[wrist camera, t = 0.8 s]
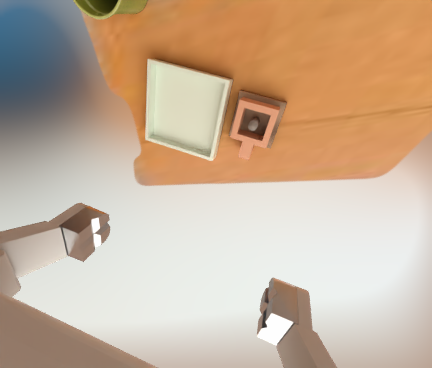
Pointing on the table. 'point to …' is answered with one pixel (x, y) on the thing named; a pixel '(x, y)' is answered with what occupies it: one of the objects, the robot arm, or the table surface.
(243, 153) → the orange frame with handle
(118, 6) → the plant pot
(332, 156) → the table surface
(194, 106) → the tray
